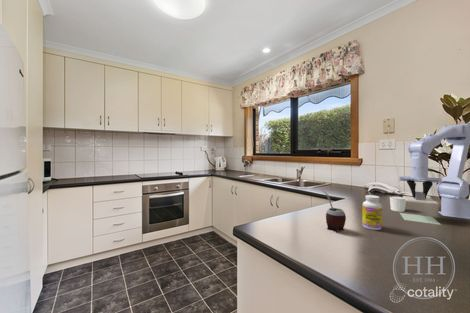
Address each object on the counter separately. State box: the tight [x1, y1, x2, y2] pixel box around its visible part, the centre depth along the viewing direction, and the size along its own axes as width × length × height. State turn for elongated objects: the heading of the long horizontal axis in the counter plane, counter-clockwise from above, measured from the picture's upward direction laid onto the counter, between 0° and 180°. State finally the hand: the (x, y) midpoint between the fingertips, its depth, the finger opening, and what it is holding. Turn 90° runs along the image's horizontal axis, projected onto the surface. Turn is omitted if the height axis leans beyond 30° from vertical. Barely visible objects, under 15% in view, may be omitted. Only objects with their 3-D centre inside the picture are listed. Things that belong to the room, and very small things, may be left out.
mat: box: [399, 212, 442, 226], centre depth 94 cm, size 12×12×1 cm
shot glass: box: [389, 196, 407, 213], centre depth 107 cm, size 7×7×7 cm
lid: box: [402, 191, 439, 205], centre depth 94 cm, size 10×10×4 cm
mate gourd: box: [322, 189, 347, 233], centre depth 82 cm, size 8×8×15 cm
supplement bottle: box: [361, 194, 383, 231], centre depth 84 cm, size 7×7×13 cm
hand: (419, 197), depth 94 cm, fingers closed on lid, 3 cm apart
